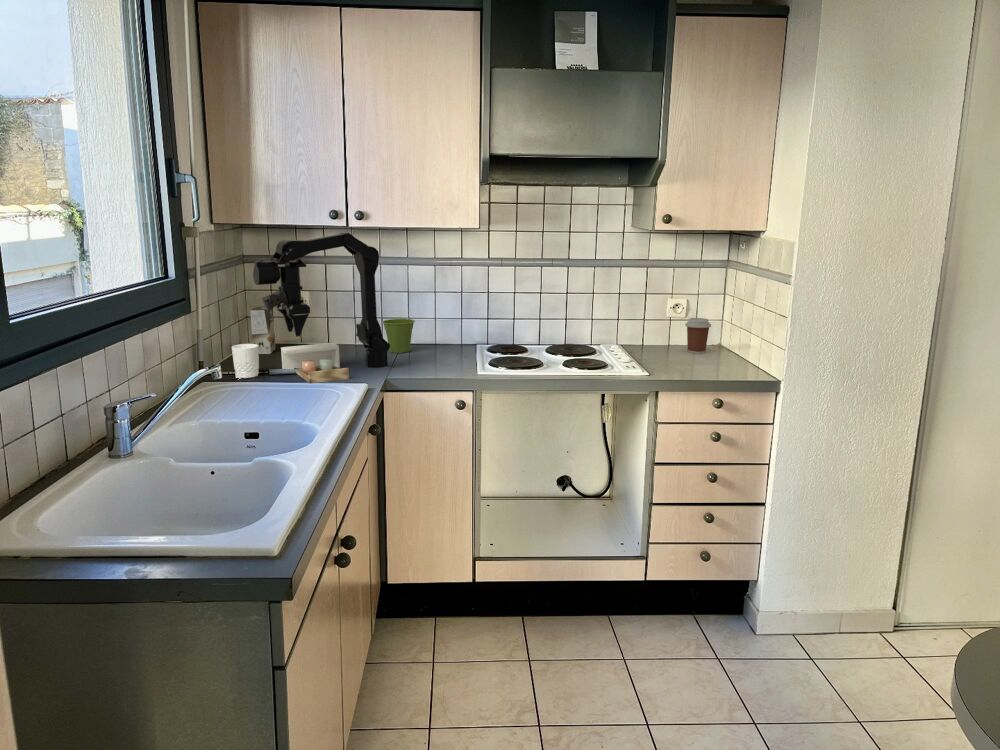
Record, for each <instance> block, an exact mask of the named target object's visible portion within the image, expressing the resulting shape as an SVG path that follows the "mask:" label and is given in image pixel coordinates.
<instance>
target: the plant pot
mask: <svg viewBox="0 0 1000 750" xmlns="http://www.w3.org/2000/svg"><path fill="white" fill-rule="evenodd" d="M381 323H382V324H383V327H384V330H385V333H386V339H387V342H388V343H389V344H390V347H389V352H390V353H395V354H399V353H400V354H404V353H406V352H408V353H409V352H410V351H411V343H412V337H413V335H412V334H413V328H414V323H416V320H415V319H412V318H411V319H410V318H392V319H386V320H382V322H381Z"/></svg>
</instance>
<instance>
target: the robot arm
mask: <svg viewBox="0 0 1000 750" xmlns="http://www.w3.org/2000/svg"><path fill="white" fill-rule="evenodd" d="M341 247H344V249H345V250H346V251H347V252H348V253H349V254H351V255H353V257H354V262H355V267H356V268H357V270H358V273H359V281H360V300H361V301H360V302H361V320H360V323H356V324H355V328H356V337H358V341H359V342H360V343H361V344H362V345H363V347H364V349H366V350H365V354H364V366H365V368H369V369H373V368H375V369H377V368H379V369H380V368H385V367H388V368H390V366H389V365H388V361H389V360H388V352H390V349H389V347H390V344H389V343H388V340H386V339H384V337H383V331H382V327H381V325H380V323H379V320H378V317H377V312H378V311H377V297H376V296H377V295H376V294H377V293H376V272H377V270H378V266H379V262H380V261H379V260H380V253H379V249H377V248H376V247H374V246H370V245H367V244H366V243H364V242H363V241H361V240H360V239H358V238H357V237H355V236H354V235H353V234H352V233H349V232H340V233H338V234H332V235H327V236H322V237H321V236H320V237H315V238H310V239H282V240H280V241H278V243H277V244H276V247H275V252H274V253H273V255H272V256H271V258H270V260H269V261H268V260H267V261H257V260H256V261H254V266H253V269H252V270H253V271H252V278H253V282H254V284H255V286H263V285H276V284H277V283H278V282H280V285H278V287H277V289H278V291H274V292H272V293H271V294H268V295H266V296H263V297H261V301H262V304H263V305H264V306H265V308H267V309H268V310H269V309H272V308H273V309H274V308H276V310H277V311H278V312H279V313H281V315H282V317H283V320H284V322H285V325H286V328H287V329H286V330H287V331H288V332H289V333H291V332H293V330H294V333H295V337H300V336H301V334H302V331H303V328H304V326H305V324H306V322H307V320H308V317H309V315H310V314H311V306H310V305H308V304H307V303H305V302H304V299H302V291H303V286H302V285H301V273H300V268H306V267H307V264H306V263H305V262H303V261H302V259H301V258H304V257H306V256H308V255H309V254H312V253H315V252H322V251H325V250H326V251H327V250H332V249H337V248H341Z"/></svg>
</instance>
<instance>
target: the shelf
mask: <svg viewBox="0 0 1000 750" xmlns="http://www.w3.org/2000/svg"><path fill="white" fill-rule="evenodd" d="M280 350H281V353H280V354H281V367H282V369H290V370H295V369H294V368H299V369H302V361H306V360H314V361H315V366H316V367H320V359H325V358H330V359H333V365H334V366H335V367H337V368H338V369H341V363H340V346H339V344H336V343H334V342H327V343H326V342H325V343H323V342H322V343H314V344H304V345H303V344H302V345H294V346H292V345H291V346H283V347H280Z"/></svg>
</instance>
